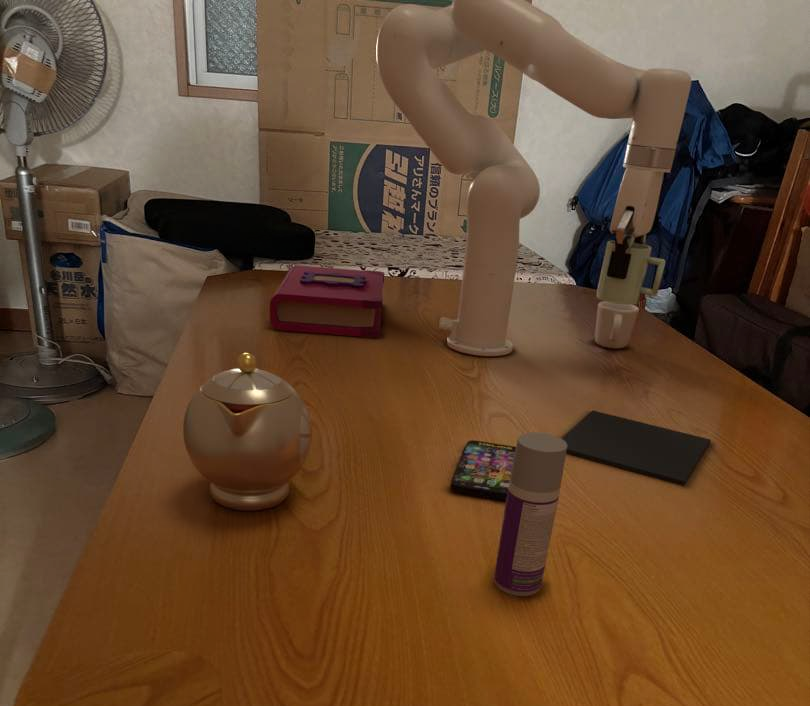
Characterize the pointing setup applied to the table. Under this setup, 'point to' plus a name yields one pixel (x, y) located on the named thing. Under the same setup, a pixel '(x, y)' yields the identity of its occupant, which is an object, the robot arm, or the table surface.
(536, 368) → the table surface
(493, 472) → the smartphone
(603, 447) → the mat
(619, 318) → the cup
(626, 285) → the mug
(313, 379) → the table surface
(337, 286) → the book
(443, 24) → the robot arm
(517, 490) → the container
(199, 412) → the teapot
